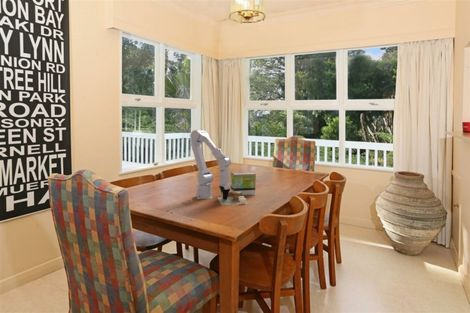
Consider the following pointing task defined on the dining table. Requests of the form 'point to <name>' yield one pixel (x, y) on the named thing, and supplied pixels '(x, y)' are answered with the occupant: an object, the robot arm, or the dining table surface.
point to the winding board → (228, 202)
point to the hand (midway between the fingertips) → (224, 198)
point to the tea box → (243, 182)
